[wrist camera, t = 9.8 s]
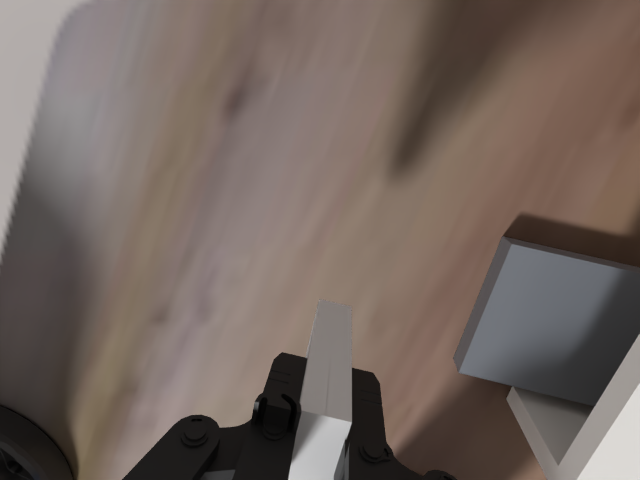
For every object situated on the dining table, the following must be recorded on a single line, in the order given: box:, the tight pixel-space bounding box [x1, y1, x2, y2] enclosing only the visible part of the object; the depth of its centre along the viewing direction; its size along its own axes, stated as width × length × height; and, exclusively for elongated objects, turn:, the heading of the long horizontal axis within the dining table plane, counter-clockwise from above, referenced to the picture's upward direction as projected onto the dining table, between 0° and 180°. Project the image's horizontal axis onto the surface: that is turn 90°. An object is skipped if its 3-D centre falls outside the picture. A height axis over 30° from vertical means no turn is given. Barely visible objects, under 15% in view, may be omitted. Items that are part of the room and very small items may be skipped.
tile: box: [453, 236, 640, 406], centre depth 22 cm, size 14×9×2 cm, turn 79°
